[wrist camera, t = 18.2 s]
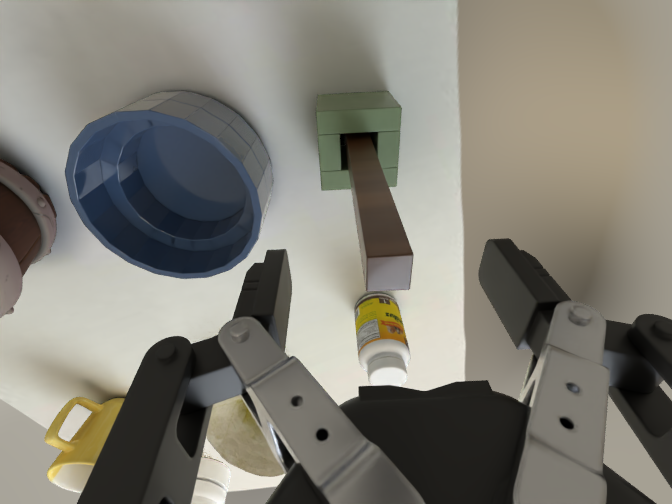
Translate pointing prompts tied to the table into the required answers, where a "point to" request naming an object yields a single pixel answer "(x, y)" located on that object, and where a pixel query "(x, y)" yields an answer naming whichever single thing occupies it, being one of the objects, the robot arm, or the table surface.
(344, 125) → the stick holder
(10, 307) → the flowerpot
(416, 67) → the table surface
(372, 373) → the supplement bottle
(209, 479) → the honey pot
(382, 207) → the brown stick
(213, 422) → the bowl
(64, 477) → the mug
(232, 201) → the blue round tub
